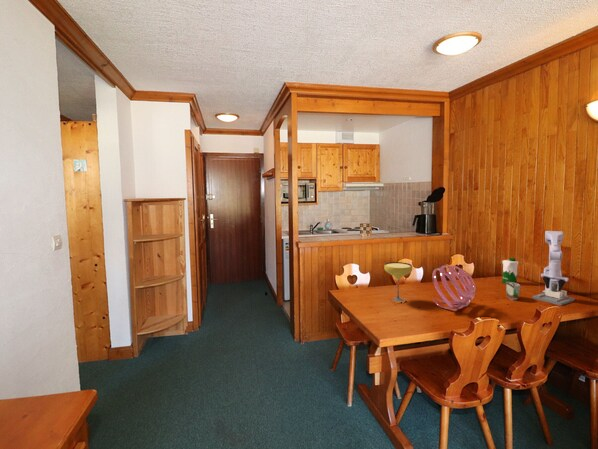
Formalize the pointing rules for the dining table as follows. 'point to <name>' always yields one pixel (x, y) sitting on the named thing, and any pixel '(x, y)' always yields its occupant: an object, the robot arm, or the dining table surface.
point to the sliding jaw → (554, 292)
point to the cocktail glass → (398, 272)
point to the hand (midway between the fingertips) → (553, 289)
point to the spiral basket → (468, 287)
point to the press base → (553, 299)
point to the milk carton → (510, 270)
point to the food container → (512, 290)
